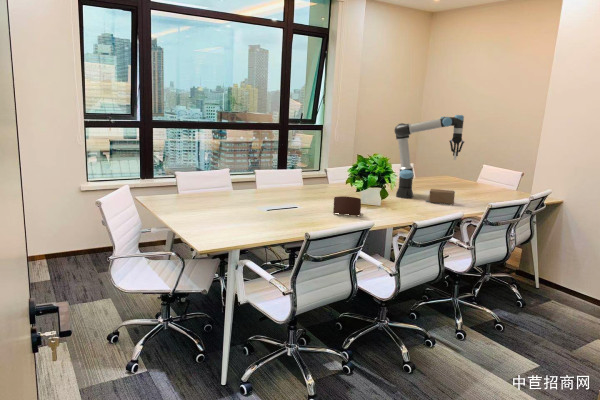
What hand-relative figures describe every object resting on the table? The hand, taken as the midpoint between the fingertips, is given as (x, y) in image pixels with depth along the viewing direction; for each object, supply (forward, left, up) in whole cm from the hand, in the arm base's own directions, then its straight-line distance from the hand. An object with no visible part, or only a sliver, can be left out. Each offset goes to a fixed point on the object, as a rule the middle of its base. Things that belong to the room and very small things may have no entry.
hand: (454, 159), depth 409 cm
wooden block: (+9, -27, -29) cm, 40 cm away
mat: (-3, -25, -34) cm, 43 cm away
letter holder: (-48, -114, -35) cm, 128 cm away
